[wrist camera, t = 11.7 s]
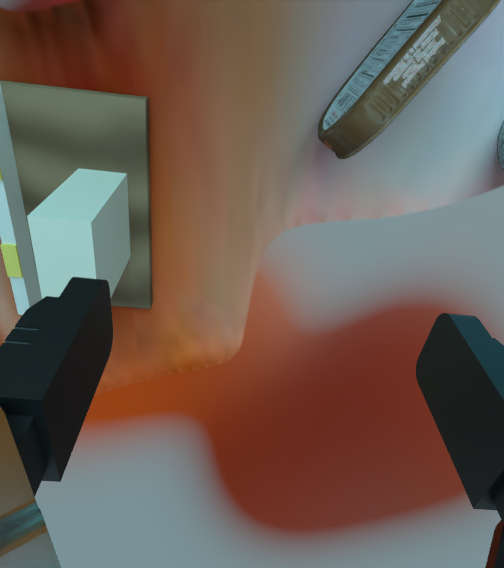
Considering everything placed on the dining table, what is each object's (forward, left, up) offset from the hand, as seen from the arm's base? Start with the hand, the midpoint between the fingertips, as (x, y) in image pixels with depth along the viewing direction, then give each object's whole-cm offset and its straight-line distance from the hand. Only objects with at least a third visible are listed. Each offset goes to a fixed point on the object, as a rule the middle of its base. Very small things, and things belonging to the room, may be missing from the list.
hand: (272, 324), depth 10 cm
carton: (+10, -12, -27) cm, 31 cm away
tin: (-5, +10, -29) cm, 31 cm away
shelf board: (+10, -14, -28) cm, 33 cm away
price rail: (+10, -20, -27) cm, 35 cm away
